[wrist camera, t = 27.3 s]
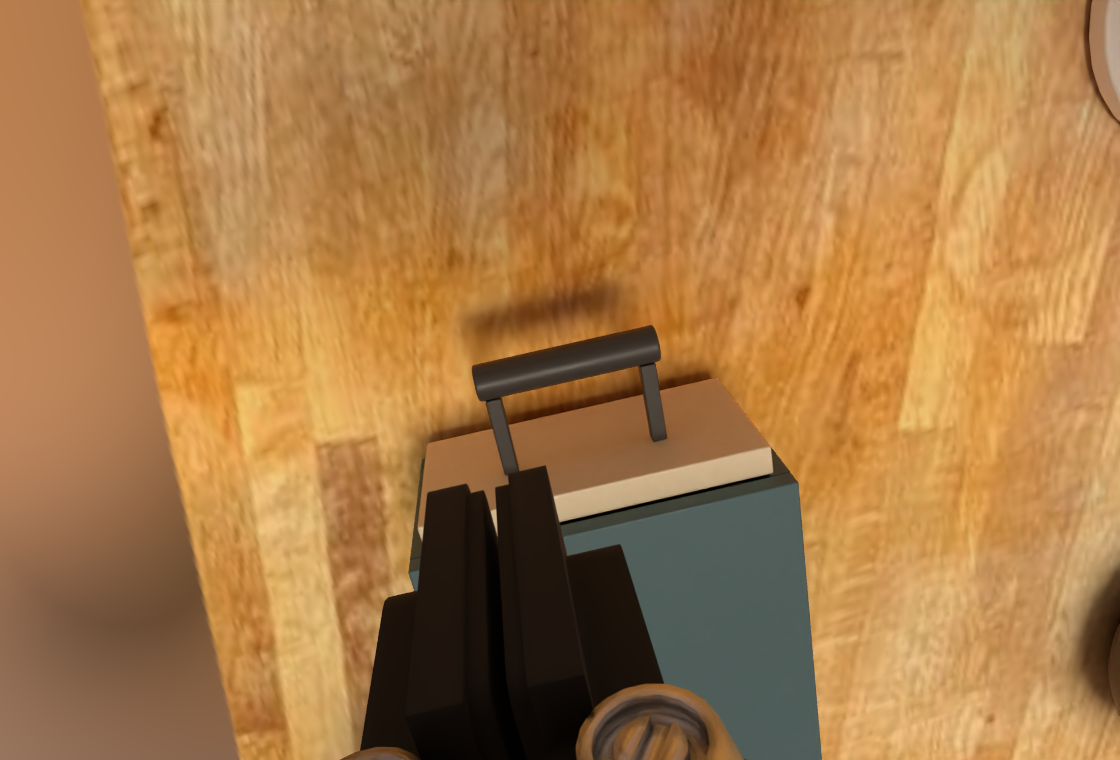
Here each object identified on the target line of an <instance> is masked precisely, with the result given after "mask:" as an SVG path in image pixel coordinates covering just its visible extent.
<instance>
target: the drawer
mask: <svg viewBox="0 0 1120 760" xmlns="http://www.w3.org/2000/svg"><path fill="white" fill-rule="evenodd" d="M660 359H661V351H660V345H659V340H658V337H657V333H656V331H655V329H654V327H653V326H651V325H650V326H645V327H641V328H636V329H632V330H627V331H623V332H618V333H614V334H610V335H605V336H601V337H596V338H592V339H587V340H583V341H579V342H574V343H570V344H565V345H561V346H556V347H552V348H547V349H543V350H539V351H534V352H530V353H525V354H521V355H516V356H512V357H508V358H503V359H499V360H494V361H490V362H485V363H481V364H477V365H473V366H472V375H473V380H474V385H475V389H476V393H477V396H478V399H479V400H480V401H486V406H487V410H488V414H489V417H490V421H491V425H492V429H489V430H484V431H480V432H476V433H471V434H467V435H462V436H458V437H454V438H449V439H445V440H440V441H436V442H432V443H428V444H427V448H426V456H425V465H424V474H423V483H422V492H421V501H420V510H419V519H418V528H417V529H418V532H419V535H420V538H421V541H422V539H423V529H424V519H425V509H426V499H427V493H428V492H430V491H435V490H439V489H444V488H448V487H452V486H457V485H461V484H465V483H467V485H468V486H469V489H470V491H471V493H472V492H476V491H481V490H484V492H485V494H486V497H487V500H488V504H489V508H490V511H491V515H492V518H493V522H494V526H495V529H496V533H497V536H498V532H497V515H496V497H495V487H498V486H503V485H507V484H509V482H508V474H509V473H514V472H518V471H522V470H527V469H531V468H535V467H540V466H544V465H546V468H547V472H548V476H549V480H550V484H551V488H552V493H553V497H554V501H555V505H556V510H557V514H558V518H559V522H560V526H561V525H565V524H570V523H574V522H578V521H583V520H587V519H591V518H596V517H600V516H604V515H609V514H613V513H617V512H622V511H626V510H630V509H635V508H639V507H643V506H648V505H652V504H656V503H661V502H665V501H669V500H674V499H678V498H682V497H687V496H691V495H695V494H700V493H704V492H708V491H713V490H717V489H721V488H726V487H730V486H734V485H739V484H743V482H742V480H745V479H750V478H754V477H758V476H763V475H767V474H771V473H773V463H772V453H771V447H770V445H769V444H768V443H767V441H766V440H765V439H764V437H763V436H762V435H761V434H760V432H759V431H758V430H757V428H756V427H755V426H754V425H753V423H752V422H751V421H750V419H749V418H748V417H747V416H746V414H745V413H744V412H743V410H742V409H741V408H740V407H739V405H738V404H737V403H736V401H735V400H734V399H733V397H732V396H731V395H730V394H729V392H728V391H727V390H726V388H725V387H724V386H723V385H722V383H721V382H720V381H719V379H718V378H713V379H709V380H704V381H700V382H695V383H691V384H687V385H682V386H678V387H673V388H669V389H665V390H660V389H659V382H658V376H657V370H656V364H655V363H654V362H658V361H660ZM636 366H638V368H639V374H640V380H641V386H642V392H643V395H638V396H634V397H629V398H625V399H621V400H616V401H612V402H607V403H603V404H599V405H594V406H590V407H585V408H581V409H577V410H572V411H568V412H564V413H559V414H555V415H550V416H546V417H542V418H537V419H533V420H528V421H524V422H520V423H515V424H511V425H508V421H507V417H506V413H505V409H504V406H503V402H502V398H501V397H504V396H508V395H512V394H517V393H521V392H526V391H530V390H534V389H539V388H543V387H548V386H552V385H557V384H561V383H565V382H570V381H574V380H579V379H583V378H587V377H592V376H596V375H601V374H605V373H609V372H614V371H618V370H623V369H627V368H632V367H636Z"/></svg>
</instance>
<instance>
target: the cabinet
mask: <svg viewBox="0 0 1120 760" xmlns="http://www.w3.org/2000/svg"><path fill="white" fill-rule="evenodd" d="M770 447H771V446H770ZM771 453H772V463H773V473H771V474H767V475H763V476H758V477H754V478H750V479H745V480H742V482H743V484H739V485H734V486H730V487H726V488H721V489H717V490H713V491H708V492H704V493H700V494H695V495H691V496H687V497H682V498H678V499H674V500H669V501H665V502H661V503H656V504H652V505H648V506H643V507H639V508H635V509H630V510H626V511H622V512H617V513H613V514H609V515H604V516H600V517H596V518H591V519H587V520H583V521H578V522H574V523H570V524H565V525H561V526H560V527H561V531H562V535H563V539H564V543H565V548H566V552H567V556H569V555H574V554H578V553H582V552H587V551H591V550H595V549H599V548H604V547H608V546H612V545H617V544H620V545H621V547H622V549H623V552H624V556H625V559H626V562H627V565H628V568H629V572H630V575H631V578H632V581H633V584H634V588H635V591H636V594H637V597H638V601H639V604H640V607H641V610H642V613H643V617H644V620H645V623H646V626H647V629H648V633H649V636H650V639H651V642H652V646H653V649H654V652H655V655H656V658H657V662H658V665H659V668H660V671H661V674H662V678H663V681H664V684H669V685H673V686H676V687H680V688H684V689H687V690H689V691H691V692H692V693H694V694H696V695H697V696H699V697H701V698H702V699H704V700H705V701H706V702H707V703H708V704H709V705H710V706H711V708H712V709H713V710H714V711H715V712H716V714H717V715H718V716H719V718H720V719H721V721H722V723H723V724H724V726H725V728H726V729H727V731H728V733H729V735H730V736H731V738H732V740H733V741H734V743H735V745H736V746H737V748H738V750H739V751H740V753H741V755H742V756H743V758H744V759H746V760H822V755H821V743H820V731H819V720H818V708H817V696H816V684H815V673H814V661H813V649H812V638H811V626H810V614H809V602H808V591H807V579H806V567H805V556H804V544H803V532H802V520H801V509H800V497H799V485H798V482H797V480H796V479H795V478H794V477H793V475H792V474H791V473H790V471H789V470H788V468H787V467H786V466H785V465H784V463H783V462H782V461H781V459H780V458H779V457H778V456H777V454H776V453H775V452H774V450H773V449H772V448H771ZM424 465H425V459H424V460H422V464H421V473H420V481H419V490H418V498H417V506H416V515H415V523H414V531H413V540H412V548H411V556H410V565H409V576H410V579H411V582H412V585H413V588H414V591H417V589H418V579H419V569H420V559H421V549H422V541H421V538H420V535H419V532H418V529H417V528H418V519H419V510H420V501H421V492H422V483H423V474H424Z"/></svg>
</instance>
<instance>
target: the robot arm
mask: <svg viewBox="0 0 1120 760" xmlns="http://www.w3.org/2000/svg"><path fill="white" fill-rule="evenodd" d="M1089 44H1090V53H1091V63H1092V69H1093V72H1094V75H1095V78H1096V82H1097V85H1098V88H1099V91H1100V94H1101V95H1102V97H1103V99H1104V101H1105V102H1106V104H1107V106H1108V107H1109V109H1110V111H1111V112H1112V114H1113V115H1114V116H1115V117H1116V118H1117V119H1118V120H1119V121H1120V0H1092V4H1091V15H1090V29H1089ZM508 482H509V484H507V485H503V486H498V487H495V497H496V515H497V532H498V536H497V533H496V529H495V526H494V522H493V518H492V515H491V511H490V508H489V504H488V500H487V497H486V494H485V492H484V490H481V491H476V492H472V493H471V491H470V489H469V486H468V485H467V483H465V484H461V485H457V486H452V487H448V488H444V489H439V490H435V491H430V492H428V493H427V499H426V509H425V519H424V529H423V539H422V549H421V559H420V569H419V579H418V589H417V591H414V592H410V593H405V594H401V595H397V596H392V597H388V598H387V599H386V600H385V603H384V606H383V610H382V617H381V623H380V629H379V636H378V642H377V648H376V654H375V661H374V667H373V673H372V680H371V686H370V692H369V698H368V705H367V711H366V717H365V724H364V730H363V736H362V743H361V749H360V751H358V752H355V753H353V754H351V755H349V756H347V757H345V758H343V759H341V760H746V759H744V758H743V756H742V755H741V753H740V751H739V750H738V748H737V746H736V745H735V743H734V741H733V740H732V738H731V736H730V735H729V733H728V731H727V729H726V728H725V726H724V724H723V723H722V721H721V719H720V718H719V716H718V715H717V714H716V712H715V711H714V710H713V709H712V708H711V706H710V705H709V704H708V703H707V702H706V701H705V700H704V699H702V698H701V697H699V696H697V695H696V694H694V693H692V692H691V691H689V690H687V689H684V688H680V687H676V686H673V685H669V684H664V681H663V678H662V674H661V671H660V668H659V665H658V662H657V658H656V655H655V652H654V649H653V646H652V642H651V639H650V636H649V633H648V629H647V626H646V623H645V620H644V617H643V613H642V610H641V607H640V604H639V601H638V597H637V594H636V591H635V588H634V584H633V581H632V578H631V575H630V572H629V568H628V565H627V562H626V559H625V556H624V552H623V549H622V547H621V545H620V544H617V545H612V546H608V547H604V548H599V549H595V550H591V551H587V552H582V553H578V554H574V555H569V556H567V552H566V548H565V543H564V539H563V535H562V531H561V527H560V522H559V518H558V514H557V510H556V505H555V501H554V497H553V493H552V488H551V484H550V480H549V476H548V472H547V468H546V465H544V466H540V467H535V468H531V469H527V470H522V471H518V472H514V473H509V474H508Z"/></svg>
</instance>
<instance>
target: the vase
mask: <svg viewBox="0 0 1120 760" xmlns="http://www.w3.org/2000/svg"><path fill="white" fill-rule="evenodd" d="M1108 676H1109V684H1110V689H1111V693H1112V697H1113V700H1114V702H1115V705H1116V708H1117V711H1118V713H1119V715H1120V624H1119V626H1118V628H1117V630H1116V633H1115V635H1114V638H1113V642H1112V645H1111V650H1110V655H1109V663H1108Z"/></svg>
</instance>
